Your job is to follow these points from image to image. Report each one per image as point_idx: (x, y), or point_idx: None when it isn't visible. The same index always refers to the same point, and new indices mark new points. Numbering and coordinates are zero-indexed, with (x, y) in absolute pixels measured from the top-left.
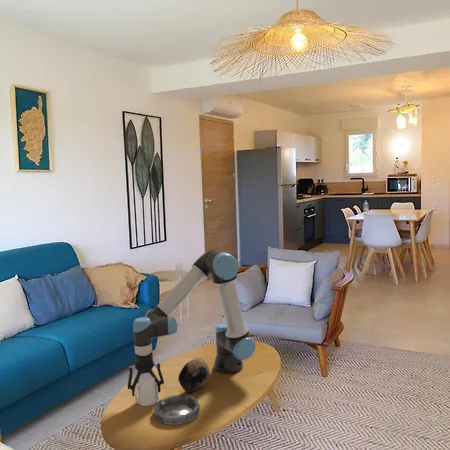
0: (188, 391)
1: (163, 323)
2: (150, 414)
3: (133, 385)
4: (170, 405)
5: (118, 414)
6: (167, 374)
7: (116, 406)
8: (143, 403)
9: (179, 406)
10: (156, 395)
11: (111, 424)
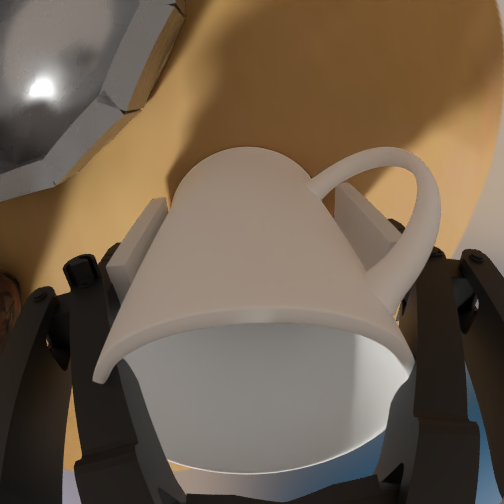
0: (2, 274)
1: None
2: (222, 9)
3: (447, 277)
4: (61, 112)
5: (455, 98)
6: None
7: (453, 207)
8: (284, 161)
9: (11, 98)
10: None
11: (478, 7)
